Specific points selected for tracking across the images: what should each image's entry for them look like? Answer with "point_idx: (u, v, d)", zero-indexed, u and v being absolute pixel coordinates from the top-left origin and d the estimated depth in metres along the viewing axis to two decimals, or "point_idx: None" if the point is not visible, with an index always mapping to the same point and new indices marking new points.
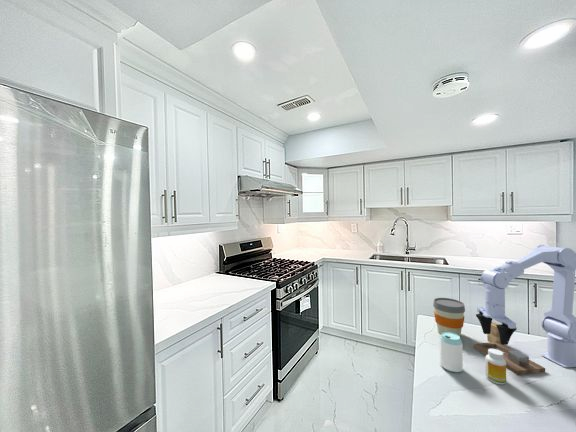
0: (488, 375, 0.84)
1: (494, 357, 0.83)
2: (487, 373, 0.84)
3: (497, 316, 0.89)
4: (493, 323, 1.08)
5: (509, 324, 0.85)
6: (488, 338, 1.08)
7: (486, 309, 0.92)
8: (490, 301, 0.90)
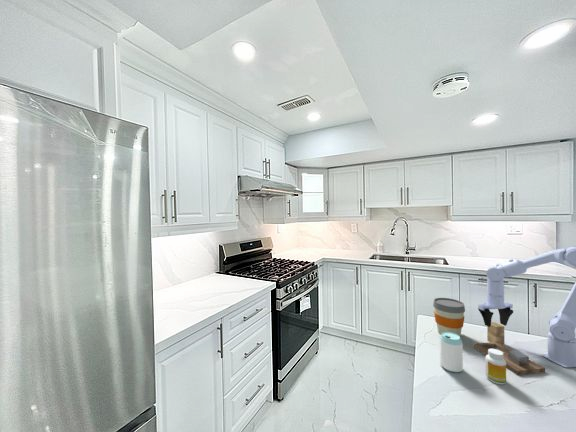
0: (488, 375, 0.84)
1: (494, 357, 0.83)
2: (487, 373, 0.84)
3: (487, 302, 1.08)
4: (493, 323, 1.08)
5: None
6: (488, 338, 1.08)
7: None
8: (487, 291, 1.08)
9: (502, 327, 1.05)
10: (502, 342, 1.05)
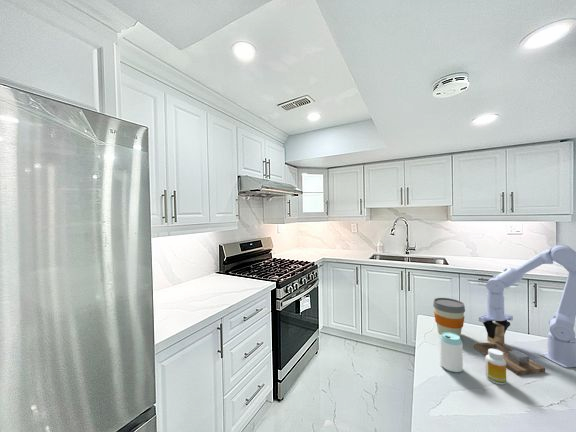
0: (488, 375, 0.84)
1: (494, 357, 0.83)
2: (487, 373, 0.84)
3: (487, 314, 1.08)
4: None
5: None
6: (488, 338, 1.08)
7: None
8: (487, 303, 1.08)
9: (502, 327, 1.05)
10: (502, 342, 1.05)
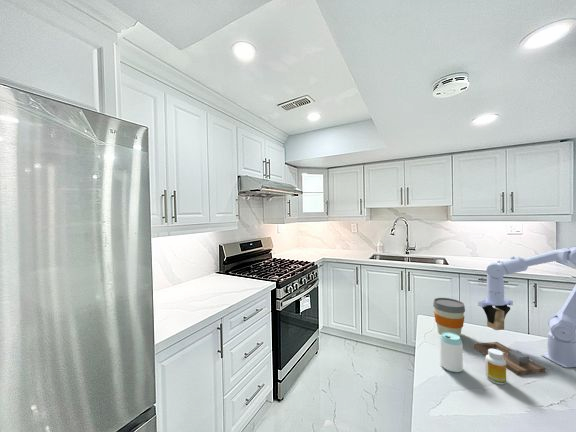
0: (488, 375, 0.84)
1: (494, 357, 0.83)
2: (487, 373, 0.84)
3: (487, 299, 1.07)
4: None
5: None
6: (488, 323, 1.08)
7: None
8: (487, 288, 1.07)
9: (502, 312, 1.04)
10: (502, 327, 1.04)
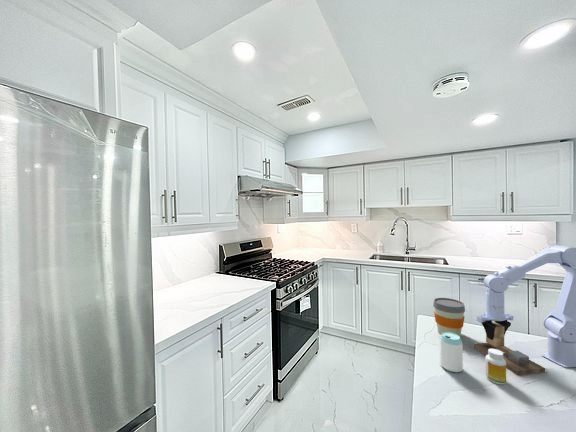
0: (488, 375, 0.84)
1: (494, 357, 0.83)
2: (487, 373, 0.84)
3: (486, 314, 1.01)
4: None
5: None
6: (487, 339, 1.01)
7: None
8: (488, 303, 0.99)
9: (502, 328, 0.98)
10: (502, 344, 0.98)
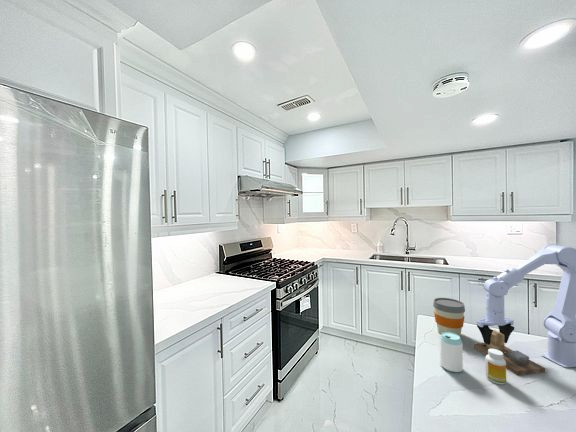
0: (488, 375, 0.84)
1: (494, 357, 0.83)
2: (487, 373, 0.84)
3: (486, 318, 1.01)
4: None
5: None
6: (487, 347, 1.01)
7: None
8: (488, 307, 1.00)
9: (502, 336, 0.98)
10: (502, 352, 0.98)
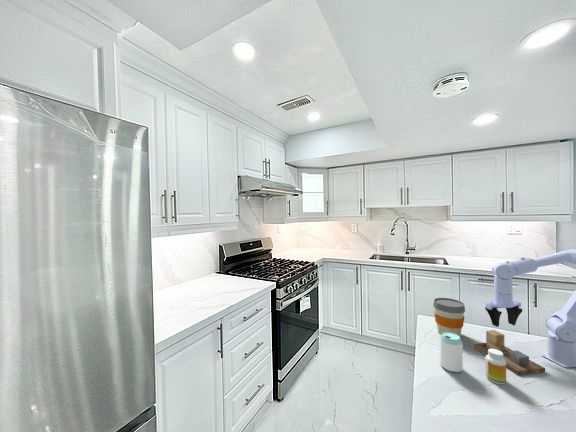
0: (488, 375, 0.84)
1: (494, 357, 0.83)
2: (487, 373, 0.84)
3: (494, 301, 1.02)
4: (492, 331, 1.01)
5: None
6: (487, 347, 1.01)
7: None
8: (495, 290, 1.02)
9: (502, 336, 0.98)
10: (502, 352, 0.98)
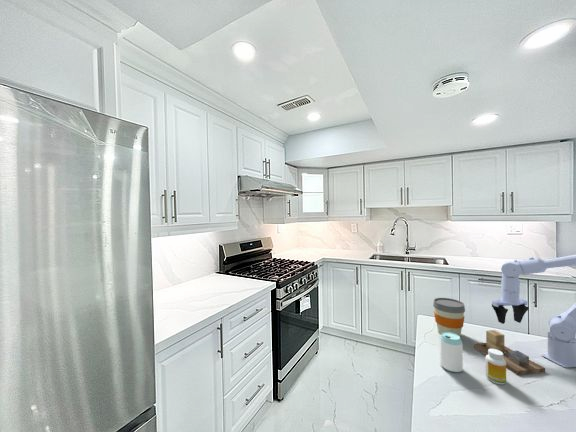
0: (488, 375, 0.84)
1: (494, 357, 0.83)
2: (487, 373, 0.84)
3: (501, 299, 1.04)
4: (492, 331, 1.01)
5: None
6: (487, 347, 1.01)
7: None
8: (501, 287, 1.04)
9: (502, 336, 0.98)
10: (502, 352, 0.98)
